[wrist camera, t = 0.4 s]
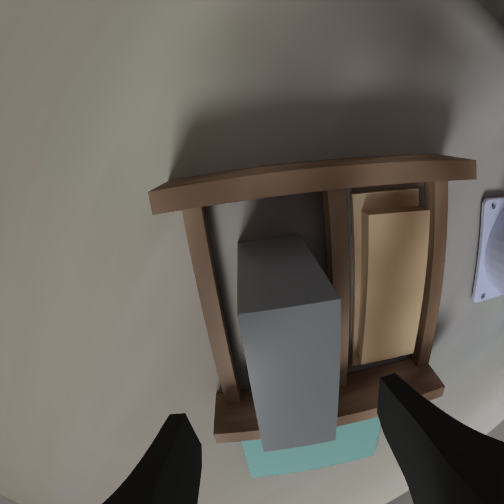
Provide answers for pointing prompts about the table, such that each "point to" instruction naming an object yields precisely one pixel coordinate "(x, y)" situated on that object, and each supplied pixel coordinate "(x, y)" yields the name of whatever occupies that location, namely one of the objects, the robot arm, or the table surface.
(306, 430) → the gray rectangular block
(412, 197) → the lower offcut board
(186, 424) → the robot arm
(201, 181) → the walnut rack
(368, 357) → the upper offcut board
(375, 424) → the teal mat
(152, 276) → the table surface
